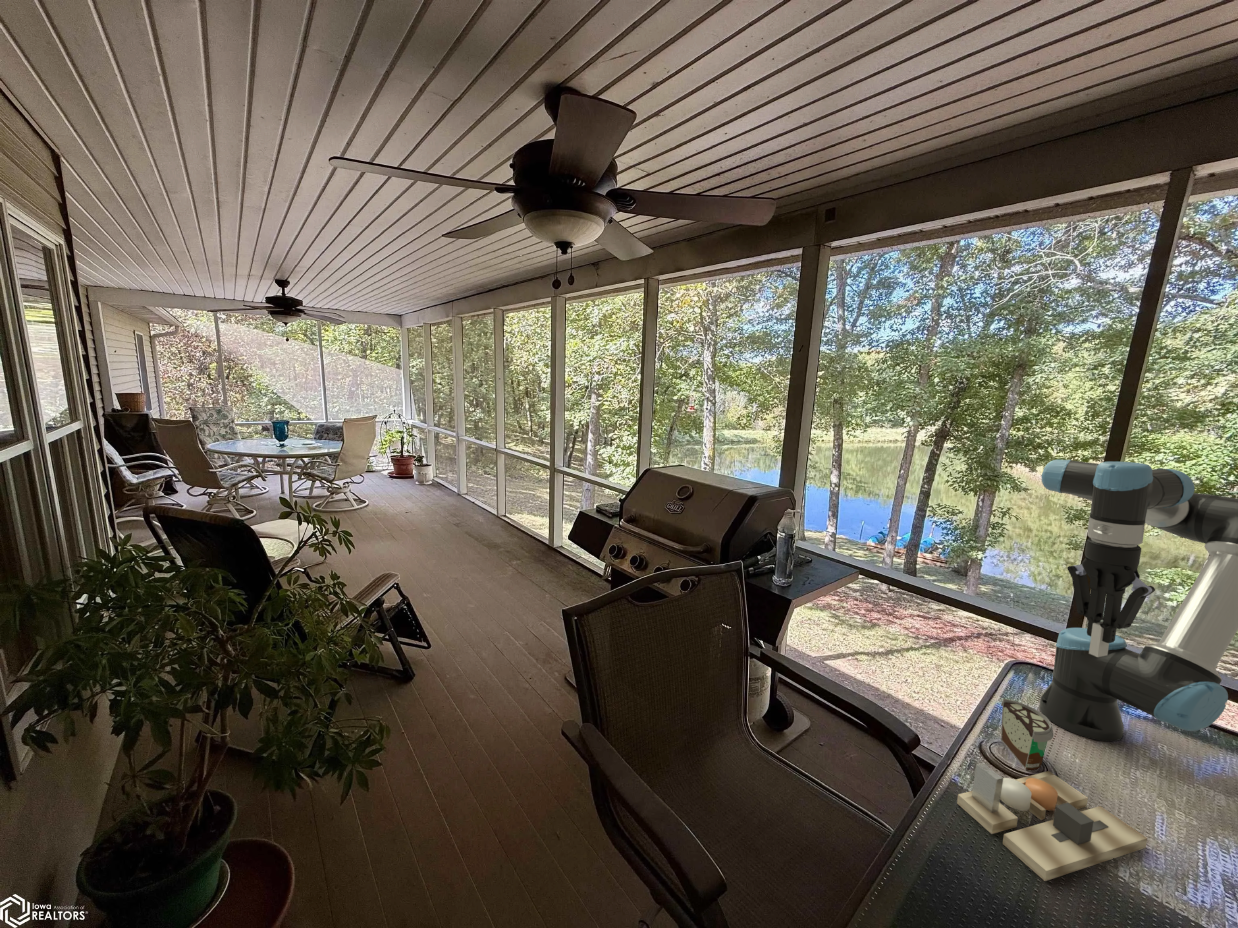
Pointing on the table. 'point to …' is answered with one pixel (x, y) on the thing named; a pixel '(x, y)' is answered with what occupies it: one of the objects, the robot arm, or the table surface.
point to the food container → (1025, 733)
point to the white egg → (1015, 794)
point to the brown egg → (1042, 793)
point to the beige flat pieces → (1057, 833)
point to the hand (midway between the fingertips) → (1098, 654)
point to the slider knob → (1073, 823)
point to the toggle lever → (987, 787)
